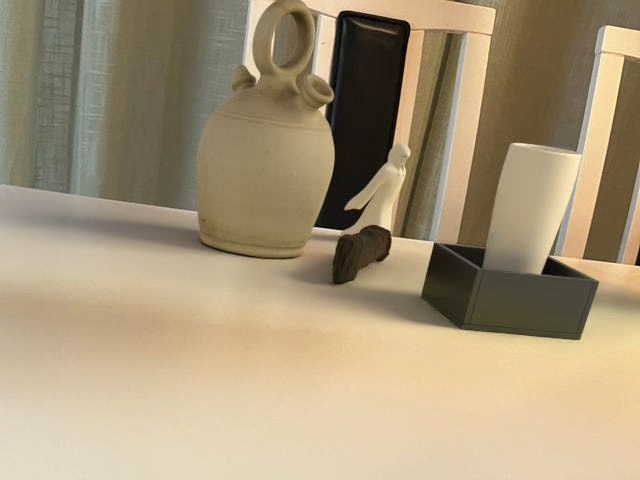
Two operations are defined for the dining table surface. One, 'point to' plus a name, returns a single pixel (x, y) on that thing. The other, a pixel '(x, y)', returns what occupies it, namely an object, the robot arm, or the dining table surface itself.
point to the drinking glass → (529, 206)
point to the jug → (267, 150)
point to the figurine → (381, 192)
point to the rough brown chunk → (360, 251)
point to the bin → (507, 294)
